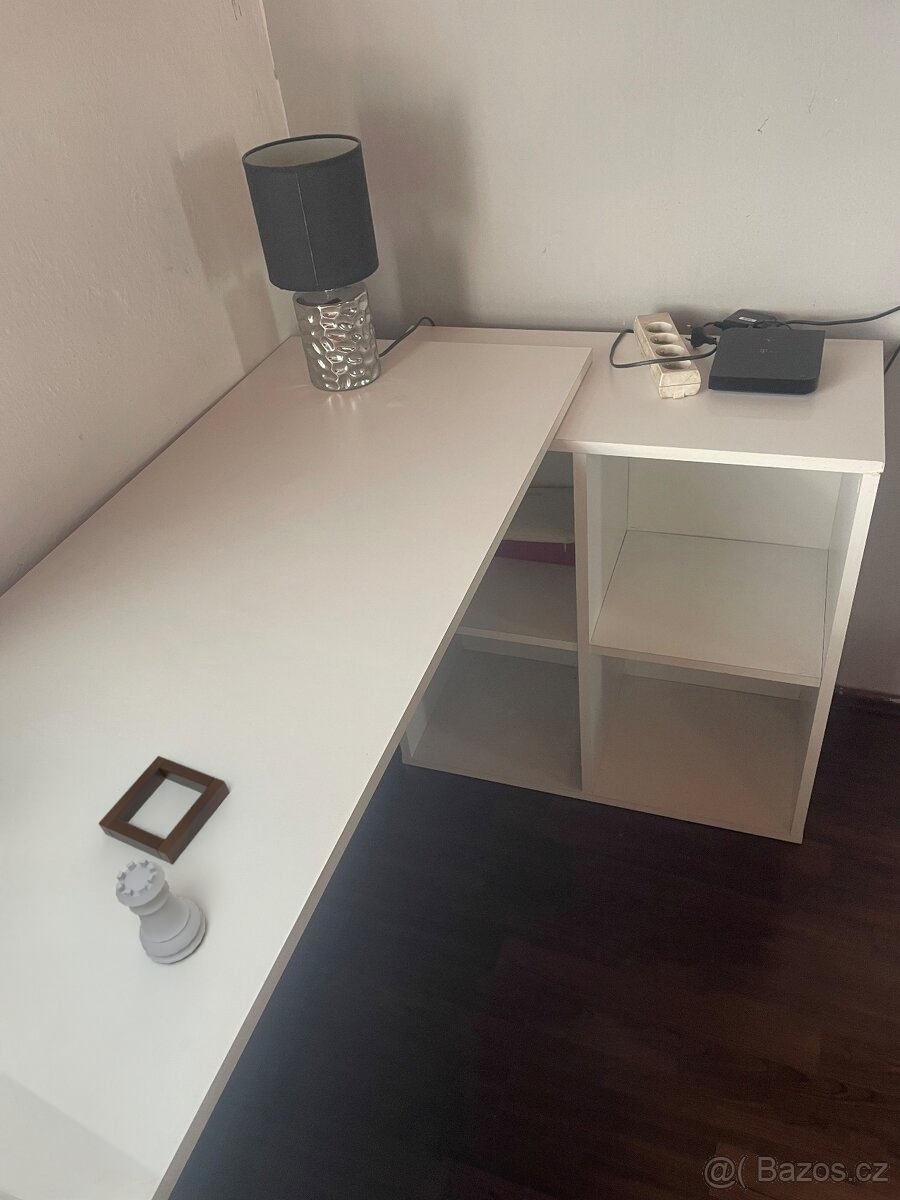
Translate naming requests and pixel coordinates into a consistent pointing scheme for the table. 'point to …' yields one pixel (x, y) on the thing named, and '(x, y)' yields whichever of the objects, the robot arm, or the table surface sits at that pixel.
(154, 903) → the rook chess piece
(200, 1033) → the table surface
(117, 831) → the holder collar
